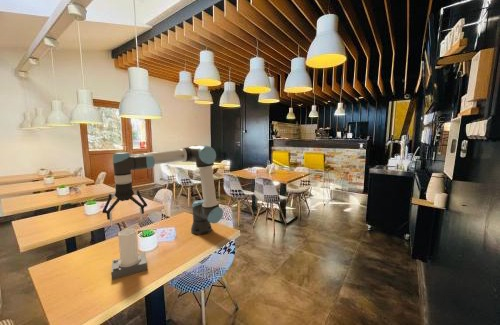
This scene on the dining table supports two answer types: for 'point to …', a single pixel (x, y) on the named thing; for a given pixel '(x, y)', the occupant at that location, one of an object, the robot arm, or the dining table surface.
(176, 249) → the dining table surface
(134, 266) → the camera body
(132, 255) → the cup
